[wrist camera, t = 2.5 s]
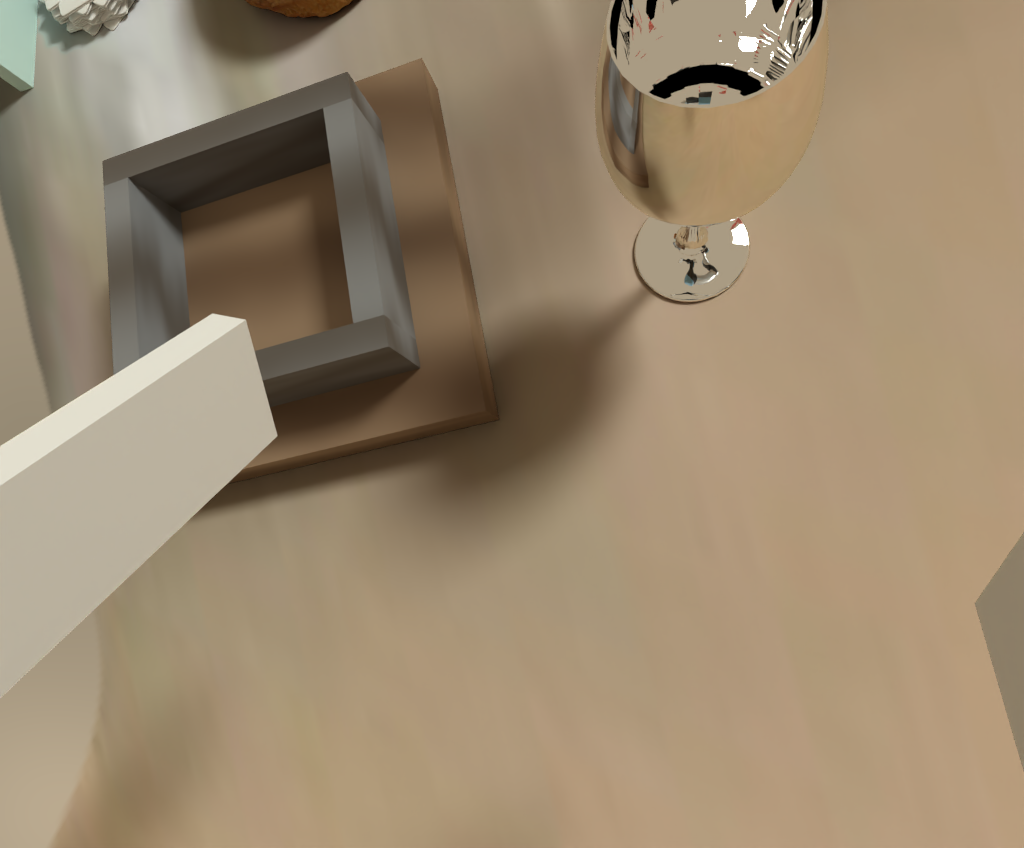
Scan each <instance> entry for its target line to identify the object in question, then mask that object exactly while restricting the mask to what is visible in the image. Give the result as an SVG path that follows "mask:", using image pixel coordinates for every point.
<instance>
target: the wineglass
mask: <svg viewBox="0 0 1024 848" xmlns="http://www.w3.org/2000/svg"><path fill="white" fill-rule="evenodd" d="M828 49H829V34H828V5H827V0H611V2H610V7H609V11H608V15H607V19H606V23H605V27H604V31H603V36H602V41H601V47H600V53H599V60H598V67H597V76H596V88H595V121H596V132H597V139H598V144H599V148H600V152H601V156H602V158H603V161H604V163H605V166H606V168H607V170H608V173H609V175H610V177H611V179H612V180H613V182H614V183H615V185H616V187H617V188H618V190H619V191H620V193H621V194H622V195H623V196H624V197H625V198H626V200H627V201H628V202H629V203H630V204H632V205H633V206H634V207H635V208H637V209H638V210H640V211H641V212H642V213H644V214H645V215H647V216H649V217H648V218H647V220H646V221H645V222H644V224H643V225H642V227H641V229H640V231H639V233H638V236H637V239H636V242H635V250H634V256H635V263H636V267H637V269H638V272H639V274H640V276H641V278H642V279H643V280H644V282H645V283H646V285H648V286H649V287H650V288H651V289H652V290H653V291H654V292H656V293H658V294H659V295H661V296H663V297H665V298H668V299H671V300H675V301H680V302H698V301H703V300H706V299H709V298H712V297H714V296H717V295H719V294H720V293H722V292H724V291H725V290H727V289H728V288H730V287H731V286H732V285H733V284H734V282H735V281H736V280H737V279H738V278H739V277H740V275H741V274H742V272H743V270H744V269H745V267H746V264H747V261H748V258H749V253H750V240H749V235H748V231H747V228H746V226H745V224H744V222H743V221H742V219H741V218H740V217H742V216H744V215H746V214H748V213H749V212H751V211H753V210H754V209H756V208H758V207H759V206H760V205H762V204H763V203H764V202H765V201H767V200H768V199H769V198H770V197H771V196H772V195H773V194H774V193H776V192H777V191H778V190H779V189H780V188H781V186H782V185H783V184H784V183H785V182H786V181H787V179H788V178H789V177H790V176H791V174H792V173H793V171H794V170H795V168H796V167H797V165H798V164H799V162H800V161H801V159H802V157H803V155H804V153H805V152H806V150H807V148H808V146H809V143H810V141H811V138H812V135H813V133H814V130H815V127H816V125H817V121H818V118H819V114H820V110H821V107H822V103H823V98H824V90H825V81H826V72H827V63H828Z"/></svg>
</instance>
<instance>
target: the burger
mask: <svg viewBox="0 0 1024 848" xmlns="http://www.w3.org/2000/svg"><path fill="white" fill-rule="evenodd" d="M245 1H247V2H248V3H249V4H250V5H253V6H255V7H258V8H263V9H269V10H272V11H274V12H278V13H282V14H284V15H285V16H288V17H297V16H299V17H311V16H318V17H326V16H328V15H331V14H333V13H335V12H338V11H339V10H340V9H341V8H342V7H344V6H346V5H348V4H349V3H350V2H352V1H353V0H245Z"/></svg>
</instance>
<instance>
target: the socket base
mask: <svg viewBox="0 0 1024 848" xmlns="http://www.w3.org/2000/svg"><path fill="white" fill-rule="evenodd" d="M103 180H104V199H105V218H106V237H107V257H108V276H109V295H110V314H111V333H112V352H113V371H114V375H115V374H116V373H118V372H120V371H121V370H123V369H124V368H126V367H128V366H129V365H131V364H132V363H134V362H136V361H137V360H139V359H140V358H142V357H144V356H145V355H147V354H148V353H150V352H152V351H153V350H155V349H156V348H158V347H160V346H161V345H163V344H164V343H166V342H168V341H169V340H171V339H172V338H174V337H176V336H177V335H179V334H180V333H182V332H184V331H185V330H187V329H188V328H190V327H192V326H193V325H195V324H196V323H198V322H200V321H201V320H203V319H204V318H206V317H208V316H209V315H211V314H218V315H223V316H228V317H234V318H239V319H245V320H246V322H247V326H248V329H249V333H250V337H251V340H252V344H253V348H254V351H255V355H256V359H257V362H258V366H259V370H260V373H261V377H262V381H263V384H264V388H265V392H266V395H267V399H268V403H269V406H270V410H271V414H272V417H273V421H274V425H275V428H276V432H277V437H276V438H275V439H274V440H273V441H272V442H271V443H270V444H269V445H268V446H267V447H265V448H264V449H263V450H262V451H261V452H260V453H259V454H258V455H257V456H256V457H255V458H254V459H253V460H252V461H251V462H250V463H249V464H248V465H246V466H245V467H244V468H243V469H242V470H241V471H240V472H239V473H238V474H237V475H236V476H235V477H234V478H233V479H232V480H231V481H230V482H228V483H227V484H230V483H234V482H238V481H243V480H247V479H251V478H255V477H259V476H264V475H268V474H272V473H276V472H280V471H285V470H289V469H293V468H297V467H302V466H306V465H310V464H314V463H318V462H323V461H327V460H331V459H335V458H340V457H344V456H348V455H352V454H356V453H361V452H365V451H369V450H373V449H377V448H382V447H386V446H390V445H394V444H399V443H403V442H407V441H411V440H415V439H420V438H424V437H428V436H432V435H436V434H441V433H445V432H449V431H453V430H458V429H462V428H466V427H470V426H474V425H479V424H483V423H487V422H491V421H495V420H499V416H498V411H497V406H496V400H495V395H494V389H493V384H492V379H491V373H490V368H489V363H488V357H487V352H486V347H485V341H484V336H483V330H482V325H481V320H480V314H479V309H478V304H477V298H476V293H475V288H474V282H473V277H472V271H471V266H470V261H469V255H468V250H467V245H466V239H465V234H464V228H463V223H462V218H461V212H460V207H459V202H458V196H457V191H456V186H455V180H454V175H453V169H452V164H451V159H450V153H449V148H448V143H447V137H446V132H445V127H444V121H443V116H442V110H441V105H440V100H439V94H438V89H437V87H436V85H435V83H434V81H433V79H432V77H431V75H430V73H429V71H428V69H427V68H426V66H425V64H424V62H423V60H422V58H421V59H418V60H415V61H412V62H409V63H407V64H404V65H401V66H398V67H396V68H393V69H390V70H387V71H384V72H382V73H379V74H376V75H373V76H371V77H368V78H365V79H362V80H360V81H357V82H354V81H353V79H352V78H351V77H350V75H349V74H348V72H345V73H343V74H340V75H337V76H334V77H332V78H329V79H326V80H323V81H321V82H318V83H315V84H312V85H310V86H307V87H304V88H301V89H299V90H296V91H293V92H291V93H288V94H285V95H282V96H280V97H277V98H274V99H271V100H269V101H266V102H263V103H260V104H258V105H255V106H252V107H249V108H247V109H244V110H241V111H238V112H236V113H233V114H230V115H227V116H225V117H222V118H219V119H217V120H214V121H211V122H208V123H206V124H203V125H200V126H197V127H195V128H192V129H189V130H186V131H184V132H181V133H178V134H175V135H173V136H170V137H167V138H164V139H162V140H159V141H156V142H153V143H151V144H148V145H145V146H143V147H140V148H137V149H134V150H132V151H129V152H126V153H123V154H121V155H118V156H115V157H112V158H110V159H107V160H104V161H103Z"/></svg>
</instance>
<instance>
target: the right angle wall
mask: <svg viewBox="0 0 1024 848" xmlns="http://www.w3.org/2000/svg"><path fill="white" fill-rule="evenodd" d="M134 1H135V0H39V2H42V3H45V5H46V9H47V10H48V11H49V12H52V16H53V17H54V19H55V20H57V21H58V22H59V24H60V25H61V24H64V23H66V22H67V31H69V33H72V32H75V31H78V30H81V29H83V30H84V31H86V32H88V33H89V34H91V35H93V36H95V35H96V34H97V33H98V31H99V29H100V28H101V26H102V23H103V25H104V26H105V27H107V28H108V29H110V30H112V31H114V30H115V29H116V27H117V26H118V24H119V23H120V21H121V20H122V19H123V17H124V16H125V15H126V14H127V13H128V10H129V9H130V7H131V6H132V4H133V3H134ZM37 13H38V0H0V78H2V79H3V80H5V81H6V82H8V83H9V84H10V85H12V86H13V87H15V88H16V89H18V90H19V91H25V90H28V89H31V88H33V87H34V69H35V50H36V32H37Z"/></svg>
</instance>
